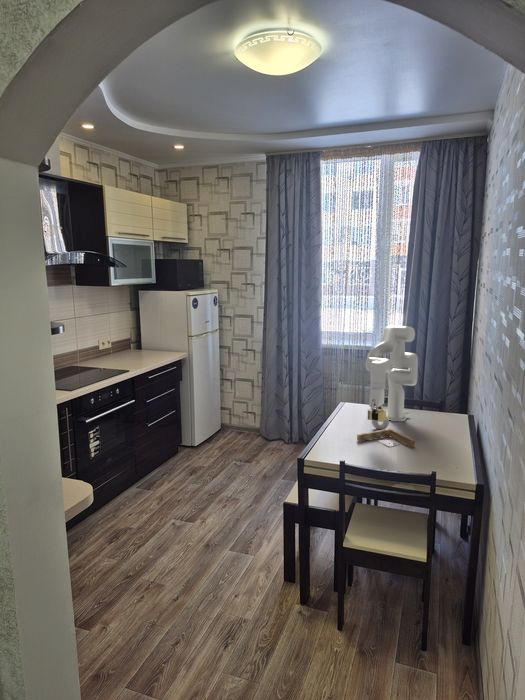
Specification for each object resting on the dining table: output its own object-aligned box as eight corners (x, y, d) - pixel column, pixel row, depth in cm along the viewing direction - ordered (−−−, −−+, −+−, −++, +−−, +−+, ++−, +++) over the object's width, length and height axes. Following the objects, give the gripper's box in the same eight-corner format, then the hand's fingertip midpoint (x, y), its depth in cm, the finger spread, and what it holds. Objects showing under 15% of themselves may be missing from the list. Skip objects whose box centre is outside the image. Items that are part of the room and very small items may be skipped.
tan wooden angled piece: (389, 435, 258) (390, 428, 258) (414, 447, 240) (415, 440, 240) (357, 441, 250) (357, 434, 249) (380, 454, 231) (380, 447, 231)
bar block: (385, 419, 241) (386, 410, 240) (382, 422, 237) (382, 412, 236) (371, 416, 246) (371, 407, 245) (367, 419, 241) (367, 410, 241)
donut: (370, 429, 268) (371, 412, 267) (372, 427, 271) (372, 411, 270) (388, 431, 264) (388, 415, 262) (389, 429, 267) (390, 413, 265)
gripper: (376, 380, 247) (375, 413, 250) (364, 387, 233) (363, 421, 236) (390, 382, 243) (389, 415, 246) (378, 389, 229) (377, 424, 232)
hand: (376, 418), depth 241 cm, fingers closed on bar block, 5 cm apart
